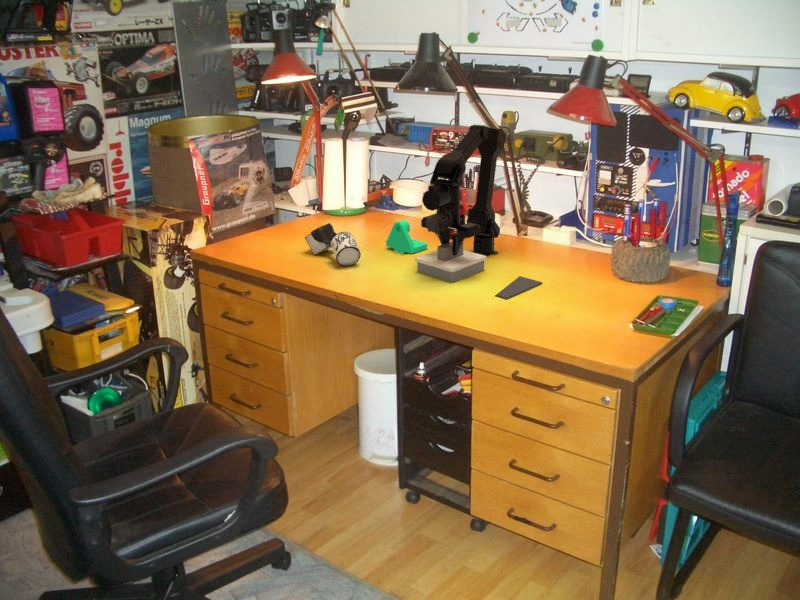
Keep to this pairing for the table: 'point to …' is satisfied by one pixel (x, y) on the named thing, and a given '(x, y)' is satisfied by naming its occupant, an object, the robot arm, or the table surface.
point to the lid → (450, 258)
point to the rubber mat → (518, 287)
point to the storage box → (450, 275)
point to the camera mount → (403, 239)
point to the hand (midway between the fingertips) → (450, 253)
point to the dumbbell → (334, 244)
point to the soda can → (462, 215)
